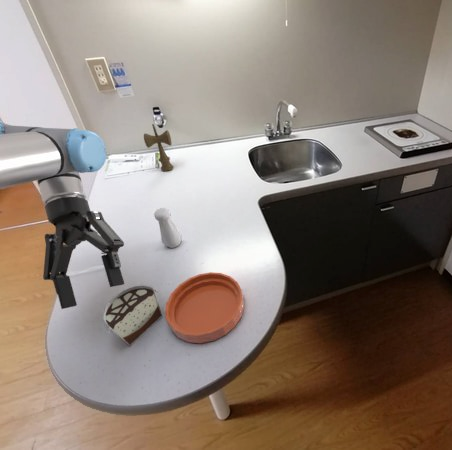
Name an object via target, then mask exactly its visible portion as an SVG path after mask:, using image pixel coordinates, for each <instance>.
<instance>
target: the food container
mask: <svg viewBox="0 0 452 450" xmlns="http://www.w3.org/2000/svg"><path fill="white" fill-rule="evenodd" d="M156 293H158V290H157V289H156V288H154V287H152V286H151V285H150V286H149V285H134V286H131V287H128V288H126V289H123V290H122V291H120V292H118V293H117V294H116V295H115V296H113V297H112V298H111V299H110V301H109V302H108V303H107V304H106V306H105V308H104V311H103V315H102V316H103V319H102V320H103V323H104V327H105V329H106V331H107V332H108V333H109V334H110V333H111V331H113V333H114V334H116V335H117V336H118V337H119V339H121V340H123V341H124V342H125V343H126V345H127V346H129V347H131V346H132V345H133V344H134V343H136V342H137V341H138V340H139V339H140V338H141V337H143V335H144V334H145V333H146V332H147V331H148V330H149V329H150V328H152V327H153V326H154V325H155V324H156V323H157V322H159V320H161V318H163V316H164V315H163V312H162V309H161V306H160V303H159V300H158V297H157V294H156Z"/></svg>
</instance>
